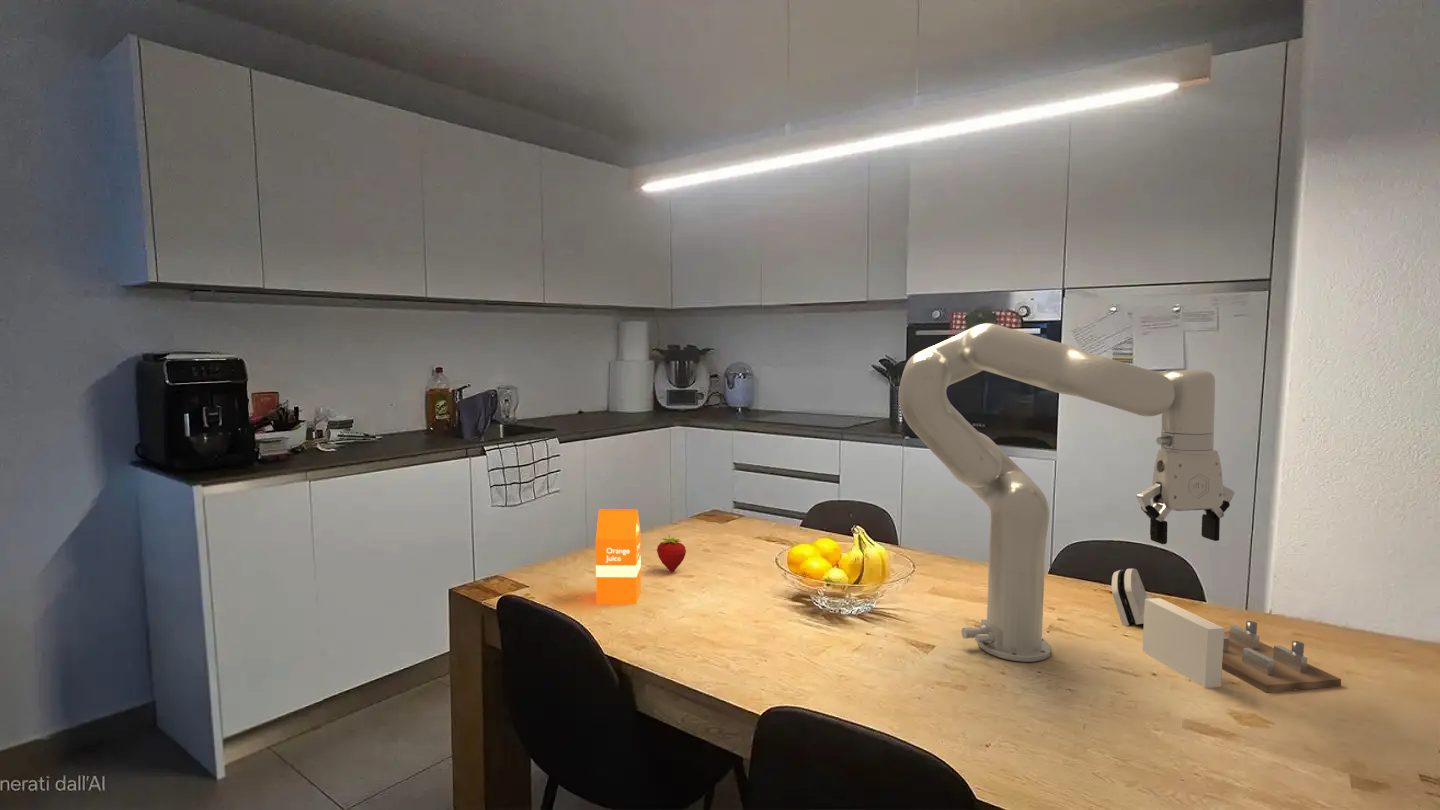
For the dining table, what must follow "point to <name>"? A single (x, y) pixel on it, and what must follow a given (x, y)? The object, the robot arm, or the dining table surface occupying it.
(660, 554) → the strawberry
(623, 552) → the orange juice
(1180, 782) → the dining table surface
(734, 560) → the dining table surface
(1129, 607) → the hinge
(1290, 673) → the wooden assembly fixture
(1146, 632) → the door panel
